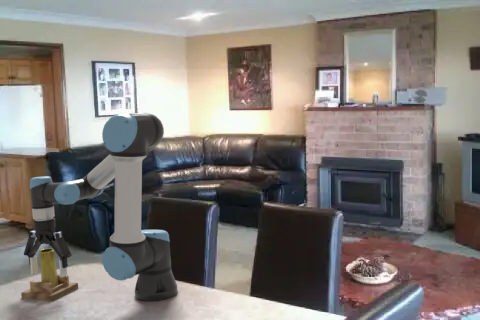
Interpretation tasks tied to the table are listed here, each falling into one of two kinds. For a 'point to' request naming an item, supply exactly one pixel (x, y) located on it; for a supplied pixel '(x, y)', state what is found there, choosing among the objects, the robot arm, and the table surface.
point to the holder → (49, 289)
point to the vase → (48, 266)
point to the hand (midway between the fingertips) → (49, 275)
